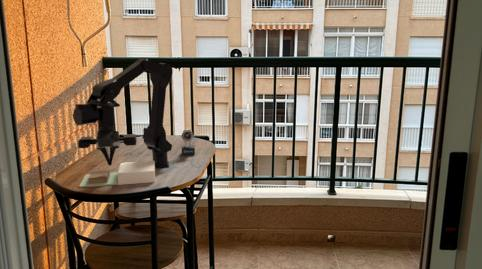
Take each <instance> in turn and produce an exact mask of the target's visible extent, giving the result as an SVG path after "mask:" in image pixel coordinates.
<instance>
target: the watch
mask: <svg viewBox="0 0 482 269" xmlns="http://www.w3.org/2000/svg"><path fill="white" fill-rule="evenodd" d="M194 137H195V134H194V133H193V131H192V129H191V128H185V129H184V130H183V131H182V133H181V138H182V141H183V144H184V145H181V156H195V155H196V147H195V145H194V144H193V145H192V142H193V139H194Z"/></svg>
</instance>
